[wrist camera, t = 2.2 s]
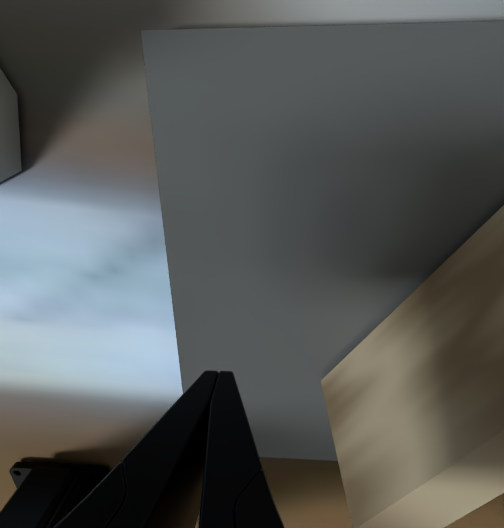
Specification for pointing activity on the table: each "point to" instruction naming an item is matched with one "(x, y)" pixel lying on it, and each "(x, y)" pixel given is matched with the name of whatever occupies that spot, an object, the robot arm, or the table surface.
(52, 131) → the table surface
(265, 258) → the slate board
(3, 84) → the flask
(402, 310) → the beige flat block
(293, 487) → the table surface
